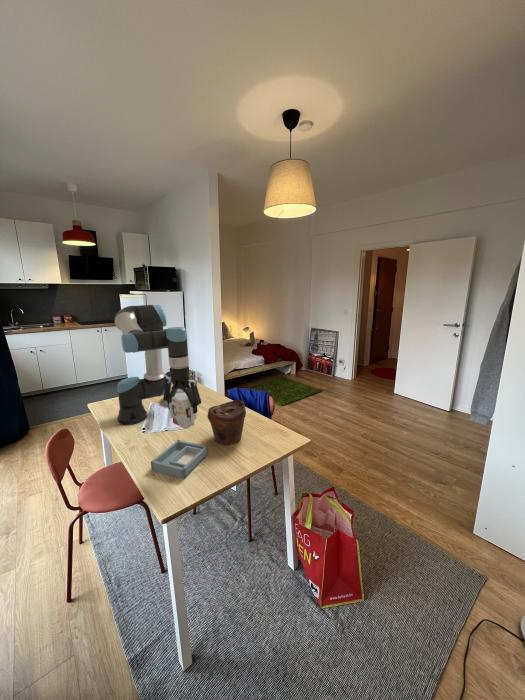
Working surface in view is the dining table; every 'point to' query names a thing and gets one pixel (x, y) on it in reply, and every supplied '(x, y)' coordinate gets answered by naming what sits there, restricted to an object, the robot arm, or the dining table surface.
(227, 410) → the brown pot
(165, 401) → the dish
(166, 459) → the walled box
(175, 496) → the dining table surface
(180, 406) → the ink box
